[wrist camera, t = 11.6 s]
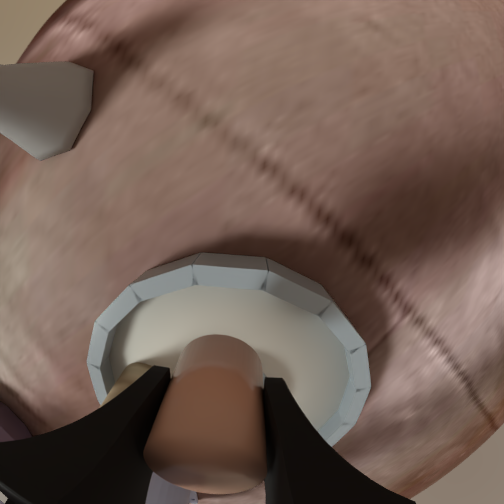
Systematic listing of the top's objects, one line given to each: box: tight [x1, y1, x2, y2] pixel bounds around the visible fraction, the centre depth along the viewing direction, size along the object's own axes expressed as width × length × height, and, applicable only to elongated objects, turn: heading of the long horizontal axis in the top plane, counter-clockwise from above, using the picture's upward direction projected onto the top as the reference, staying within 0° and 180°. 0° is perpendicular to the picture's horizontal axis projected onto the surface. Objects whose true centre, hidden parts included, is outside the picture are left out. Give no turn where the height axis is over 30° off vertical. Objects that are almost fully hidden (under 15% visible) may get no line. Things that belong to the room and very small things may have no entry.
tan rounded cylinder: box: [100, 362, 152, 407], centre depth 14 cm, size 3×3×5 cm
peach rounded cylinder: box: [143, 334, 267, 494], centre depth 8 cm, size 3×3×5 cm
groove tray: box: [87, 252, 371, 447], centre depth 16 cm, size 18×18×2 cm
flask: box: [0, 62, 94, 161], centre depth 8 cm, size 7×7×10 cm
